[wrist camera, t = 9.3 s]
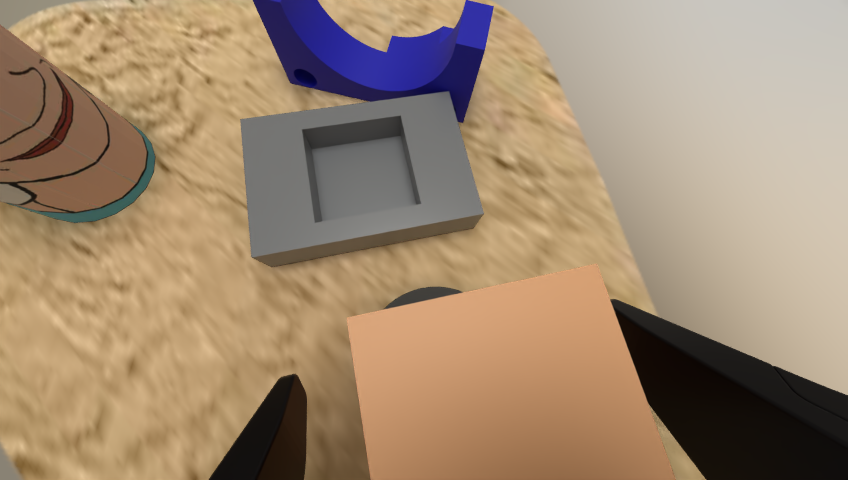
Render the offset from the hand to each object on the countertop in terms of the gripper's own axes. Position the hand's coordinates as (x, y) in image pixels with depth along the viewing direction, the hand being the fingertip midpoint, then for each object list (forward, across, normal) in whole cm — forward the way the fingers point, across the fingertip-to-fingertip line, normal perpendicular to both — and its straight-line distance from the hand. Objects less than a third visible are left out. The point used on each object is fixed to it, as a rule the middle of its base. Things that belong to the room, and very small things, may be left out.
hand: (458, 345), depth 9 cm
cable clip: (+19, -1, -6) cm, 20 cm away
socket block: (+13, +2, -1) cm, 13 cm away
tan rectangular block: (+5, 0, +6) cm, 8 cm away
